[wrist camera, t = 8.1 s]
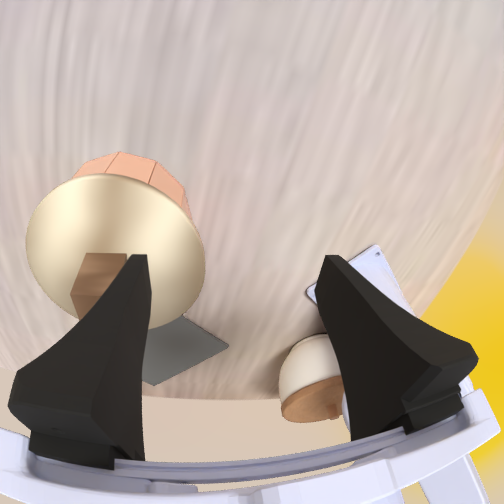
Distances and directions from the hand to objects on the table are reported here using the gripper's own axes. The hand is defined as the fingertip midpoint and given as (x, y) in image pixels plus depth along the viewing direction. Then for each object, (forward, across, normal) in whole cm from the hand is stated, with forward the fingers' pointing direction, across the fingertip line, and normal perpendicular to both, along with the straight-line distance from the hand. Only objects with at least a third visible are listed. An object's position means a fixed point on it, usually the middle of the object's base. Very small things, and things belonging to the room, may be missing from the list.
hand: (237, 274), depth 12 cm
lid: (+6, +7, +4) cm, 10 cm away
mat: (+10, +7, +19) cm, 23 cm away
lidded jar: (+10, -12, +21) cm, 27 cm away
